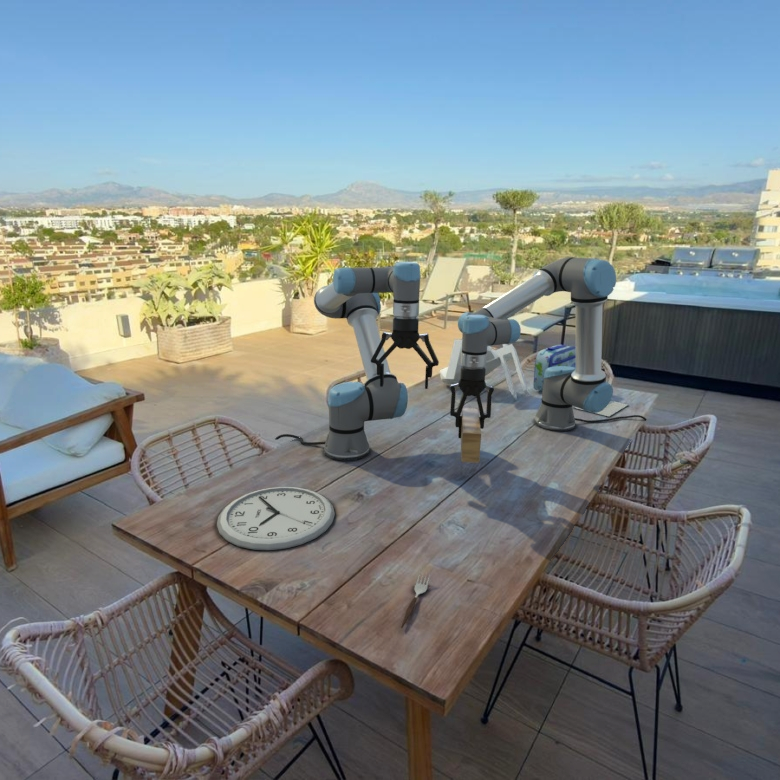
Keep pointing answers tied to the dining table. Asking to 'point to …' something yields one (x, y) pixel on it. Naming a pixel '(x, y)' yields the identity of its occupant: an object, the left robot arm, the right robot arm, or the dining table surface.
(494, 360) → the white plastic object
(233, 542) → the wall clock
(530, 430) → the dining table surface
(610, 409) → the invitation card
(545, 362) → the lunch box
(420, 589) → the fork
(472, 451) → the bar
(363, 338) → the left robot arm
